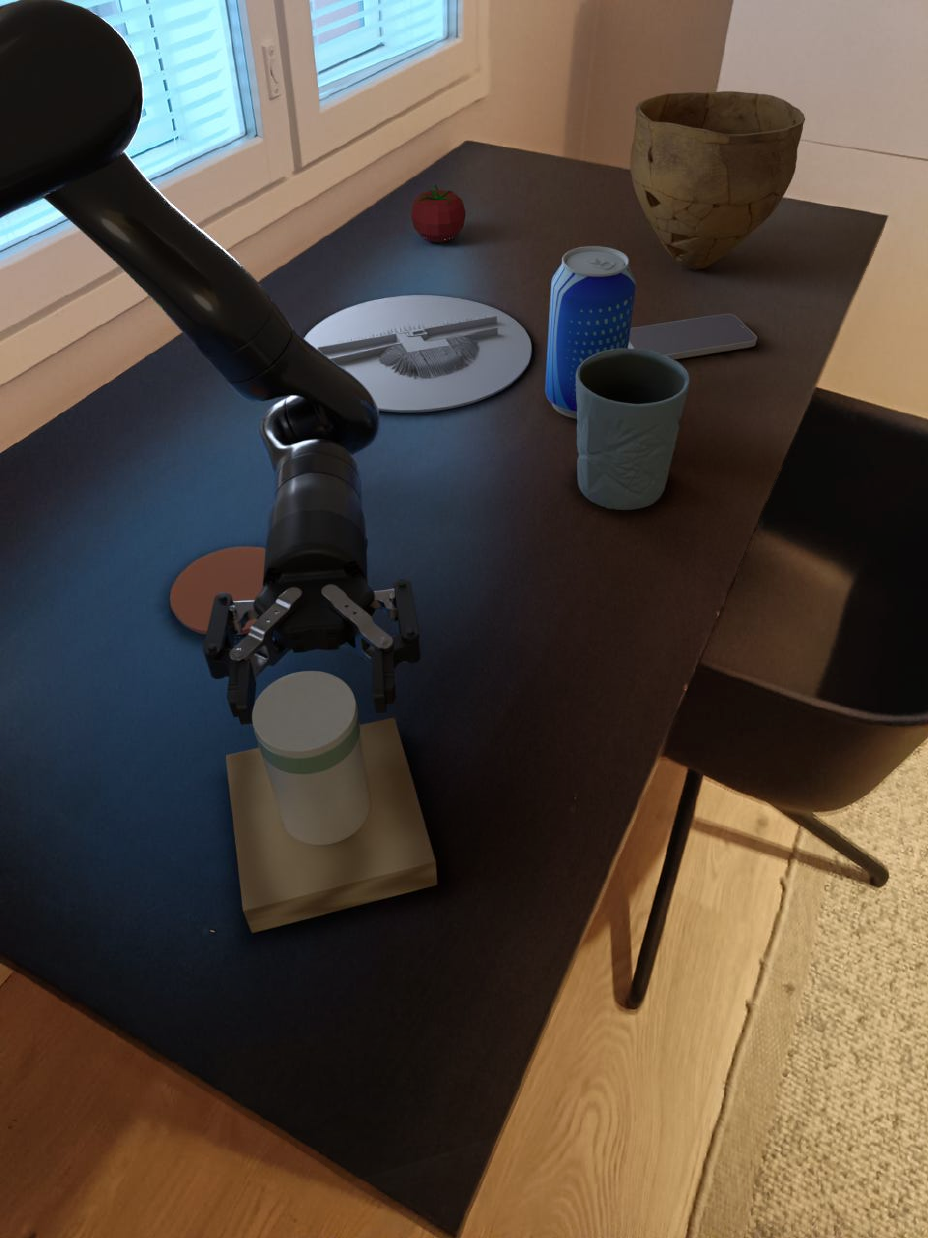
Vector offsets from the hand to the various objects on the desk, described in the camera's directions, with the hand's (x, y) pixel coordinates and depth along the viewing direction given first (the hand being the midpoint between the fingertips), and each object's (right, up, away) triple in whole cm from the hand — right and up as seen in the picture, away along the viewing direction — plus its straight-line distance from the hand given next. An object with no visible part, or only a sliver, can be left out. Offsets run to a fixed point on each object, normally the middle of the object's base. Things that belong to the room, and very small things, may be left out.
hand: (312, 710), depth 56 cm
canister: (0, -6, +3) cm, 7 cm away
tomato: (+6, +61, +75) cm, 97 cm away
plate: (+4, +38, +52) cm, 64 cm away
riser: (0, -9, +5) cm, 10 cm away
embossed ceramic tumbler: (+25, +19, +32) cm, 45 cm away
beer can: (+23, +30, +43) cm, 57 cm away
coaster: (-10, +8, +22) cm, 26 cm away
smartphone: (+37, +39, +52) cm, 75 cm away
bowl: (+41, +54, +67) cm, 95 cm away
